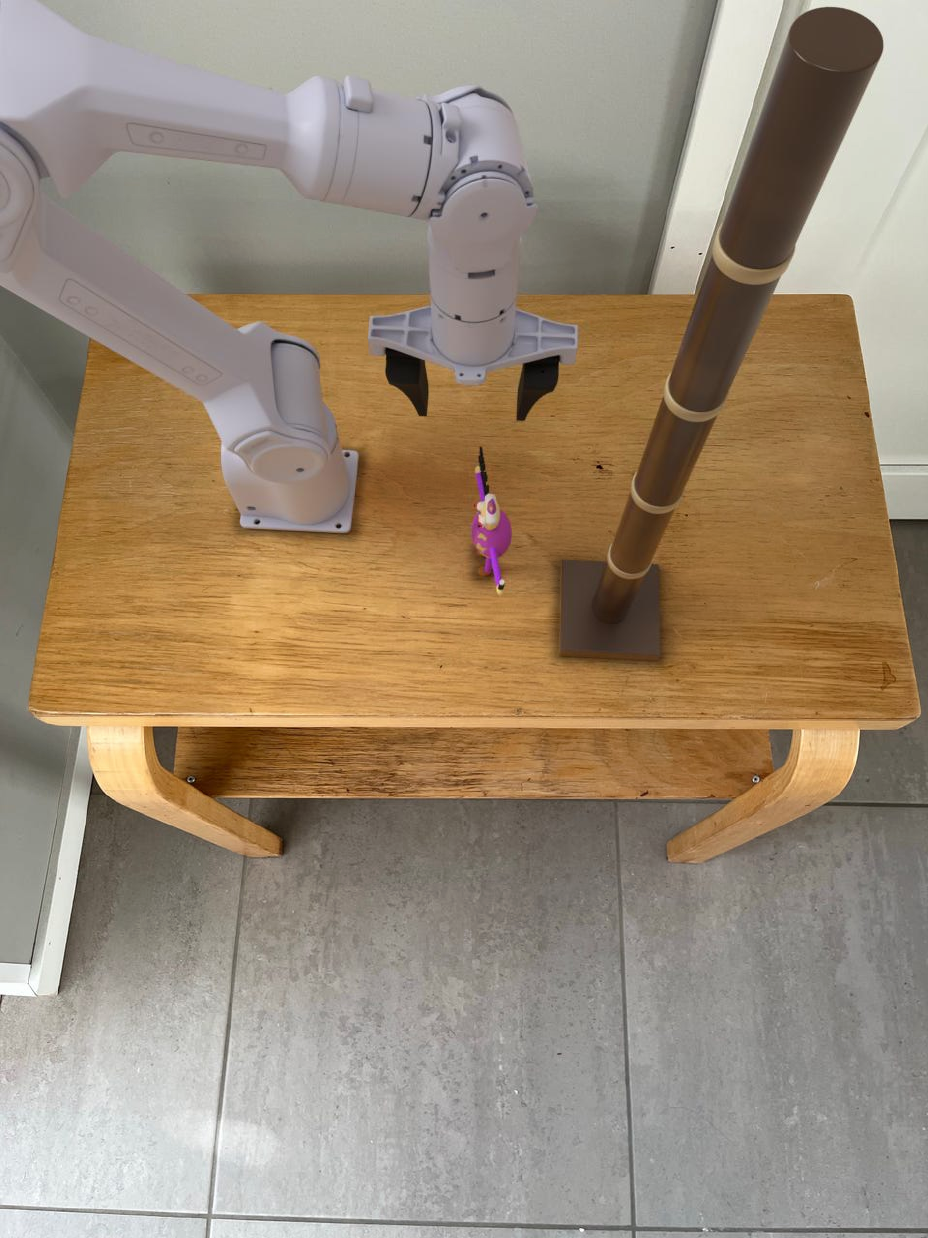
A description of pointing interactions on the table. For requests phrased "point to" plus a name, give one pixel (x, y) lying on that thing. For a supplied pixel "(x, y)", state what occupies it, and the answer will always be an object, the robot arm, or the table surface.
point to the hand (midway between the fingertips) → (472, 407)
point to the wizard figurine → (490, 527)
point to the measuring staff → (724, 321)
